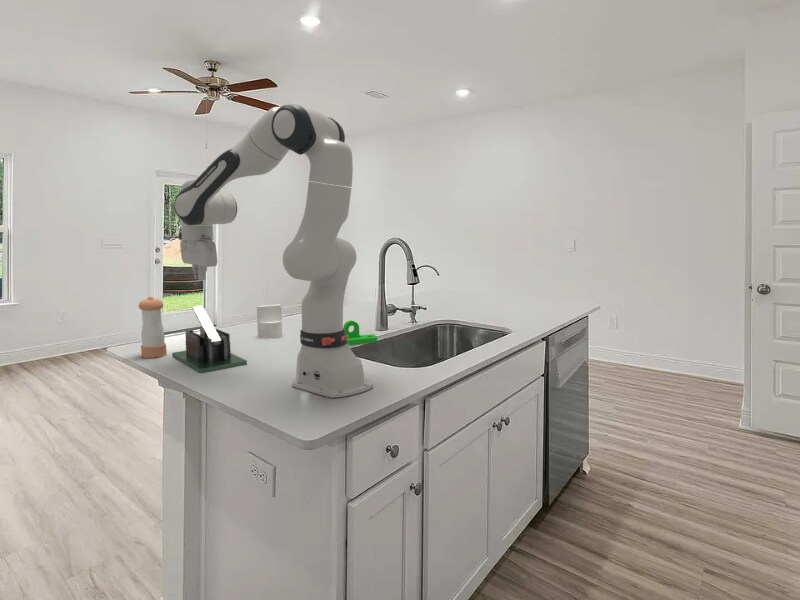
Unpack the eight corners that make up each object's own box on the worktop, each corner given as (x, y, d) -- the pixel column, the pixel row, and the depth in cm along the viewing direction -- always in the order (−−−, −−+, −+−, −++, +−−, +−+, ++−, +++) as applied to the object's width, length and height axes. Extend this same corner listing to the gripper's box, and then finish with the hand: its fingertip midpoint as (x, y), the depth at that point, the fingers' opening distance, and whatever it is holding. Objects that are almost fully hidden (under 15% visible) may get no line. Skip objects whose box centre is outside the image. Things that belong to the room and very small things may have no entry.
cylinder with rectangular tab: (277, 332, 194) (276, 303, 192) (285, 337, 186) (284, 306, 185) (254, 335, 189) (253, 304, 187) (261, 339, 182) (260, 308, 180)
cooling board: (246, 364, 149) (245, 336, 148) (200, 373, 140) (199, 343, 138) (215, 349, 167) (214, 324, 165) (172, 356, 157) (170, 330, 156)
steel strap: (222, 345, 148) (222, 342, 147) (212, 347, 146) (213, 343, 145) (201, 308, 158) (202, 305, 157) (192, 309, 156) (192, 305, 155)
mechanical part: (348, 345, 175) (348, 323, 174) (343, 342, 180) (343, 320, 179) (379, 342, 180) (379, 321, 179) (373, 339, 186) (373, 318, 184)
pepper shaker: (143, 353, 160) (139, 295, 157) (167, 351, 163) (164, 294, 160) (140, 359, 154) (136, 298, 151) (165, 357, 156) (162, 297, 153)
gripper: (221, 235, 145) (223, 281, 147) (196, 234, 160) (198, 276, 162) (200, 235, 141) (202, 283, 143) (176, 234, 156) (178, 277, 158)
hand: (200, 279), depth 152 cm, fingers closed
